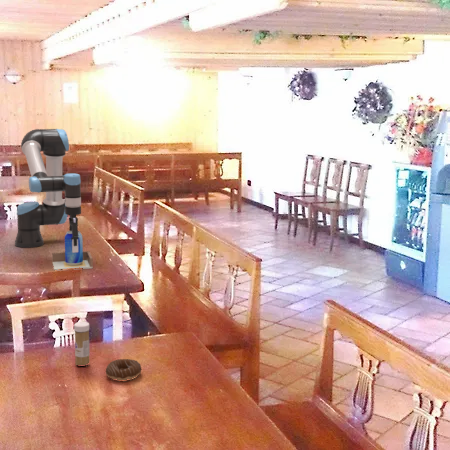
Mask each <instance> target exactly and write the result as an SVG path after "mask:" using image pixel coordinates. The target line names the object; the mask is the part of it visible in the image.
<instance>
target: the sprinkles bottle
mask: <svg viewBox="0 0 450 450" xmlns="http://www.w3.org/2000/svg"><path fill="white" fill-rule="evenodd" d="M73 331H74V356H75V364H76V365H86V364H88V363H89V362H90V322H88V321H78V322H77V321H76V322H75V323H74V325H73ZM75 364H74V365H75ZM76 365H75V366H76Z"/></svg>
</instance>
